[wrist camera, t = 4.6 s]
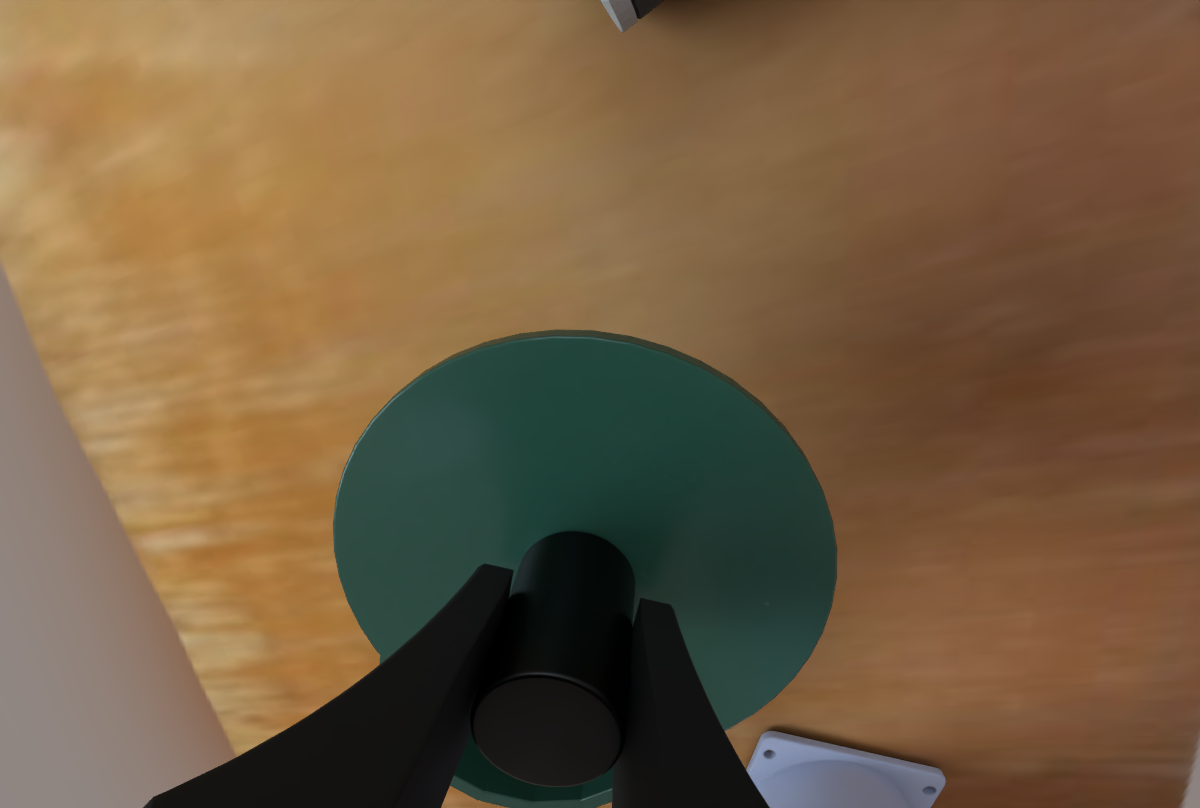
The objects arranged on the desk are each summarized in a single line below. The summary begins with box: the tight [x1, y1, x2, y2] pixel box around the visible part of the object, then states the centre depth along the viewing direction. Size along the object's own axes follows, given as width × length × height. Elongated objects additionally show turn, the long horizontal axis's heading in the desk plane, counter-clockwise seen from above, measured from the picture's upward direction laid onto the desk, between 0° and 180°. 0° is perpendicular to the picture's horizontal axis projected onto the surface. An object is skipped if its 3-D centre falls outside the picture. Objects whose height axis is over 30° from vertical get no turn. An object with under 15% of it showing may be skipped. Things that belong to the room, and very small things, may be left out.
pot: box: [380, 655, 613, 808], centre depth 24 cm, size 10×10×5 cm
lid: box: [333, 330, 837, 787], centre depth 13 cm, size 11×11×5 cm
